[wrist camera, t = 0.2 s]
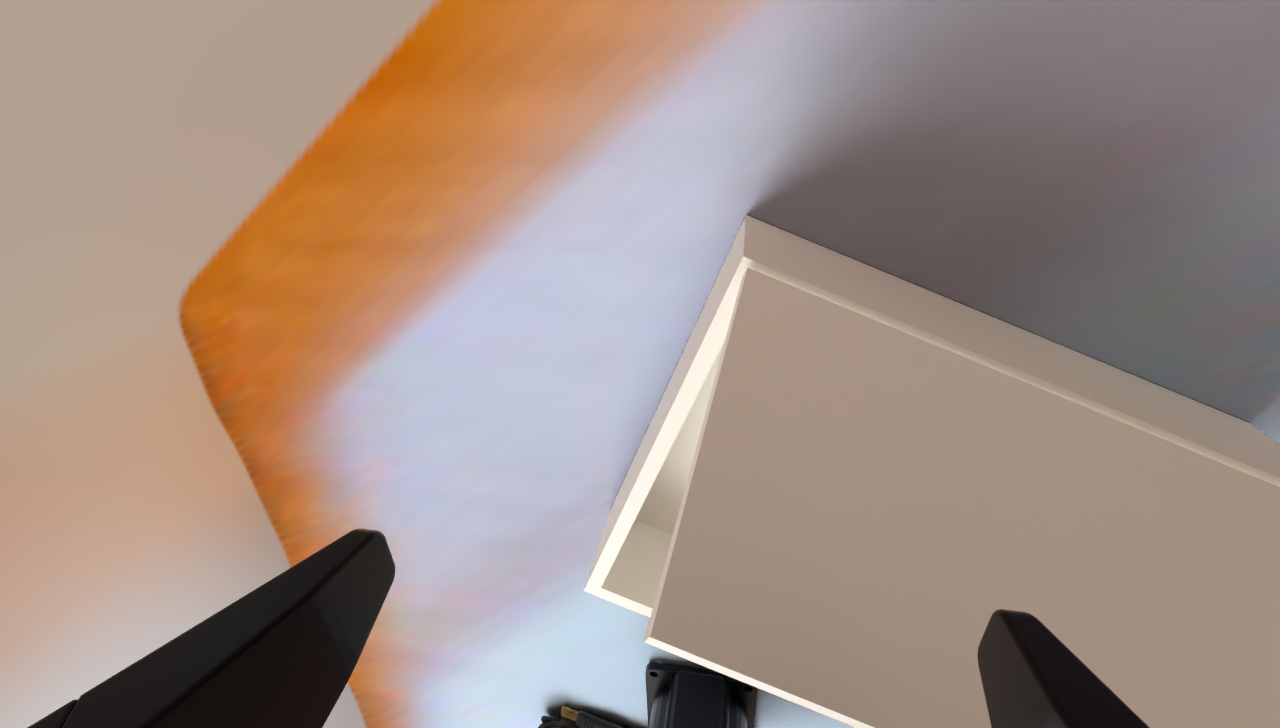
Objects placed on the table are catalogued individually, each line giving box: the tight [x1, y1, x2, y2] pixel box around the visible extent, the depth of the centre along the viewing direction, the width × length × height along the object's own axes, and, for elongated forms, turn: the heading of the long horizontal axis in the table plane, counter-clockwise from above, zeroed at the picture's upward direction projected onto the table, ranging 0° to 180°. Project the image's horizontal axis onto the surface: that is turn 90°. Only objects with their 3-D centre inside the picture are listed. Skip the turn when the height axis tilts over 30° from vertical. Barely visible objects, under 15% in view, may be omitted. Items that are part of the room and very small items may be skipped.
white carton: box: [584, 215, 1280, 618], centre depth 22 cm, size 16×20×5 cm
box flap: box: [644, 268, 1280, 728], centre depth 12 cm, size 1×20×10 cm, turn 68°
